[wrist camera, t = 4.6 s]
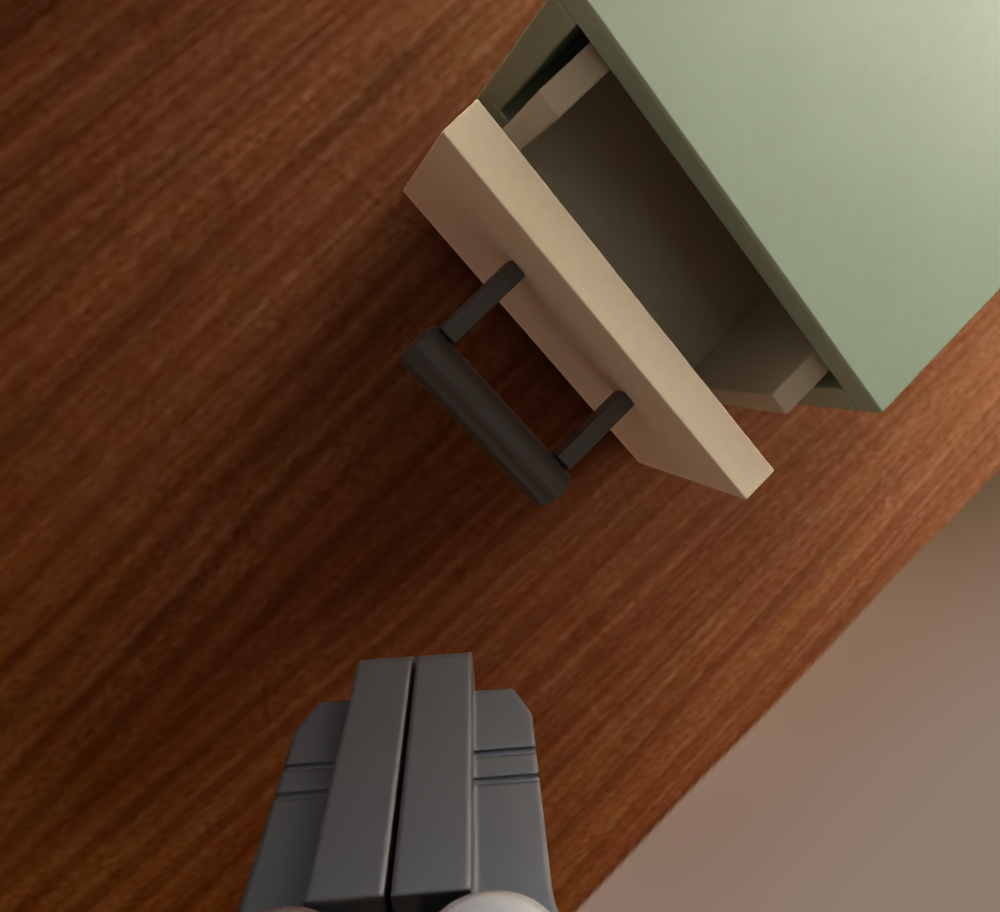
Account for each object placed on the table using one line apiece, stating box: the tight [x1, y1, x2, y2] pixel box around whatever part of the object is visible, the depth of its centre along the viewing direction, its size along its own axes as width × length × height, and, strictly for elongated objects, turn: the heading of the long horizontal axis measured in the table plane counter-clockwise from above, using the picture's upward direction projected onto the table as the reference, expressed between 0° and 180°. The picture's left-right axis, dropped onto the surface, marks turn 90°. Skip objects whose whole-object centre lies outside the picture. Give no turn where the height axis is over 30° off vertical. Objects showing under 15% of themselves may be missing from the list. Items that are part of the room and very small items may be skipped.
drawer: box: [397, 42, 829, 507], centre depth 23 cm, size 21×13×7 cm, turn 133°
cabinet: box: [477, 0, 1000, 413], centre depth 24 cm, size 18×14×9 cm
